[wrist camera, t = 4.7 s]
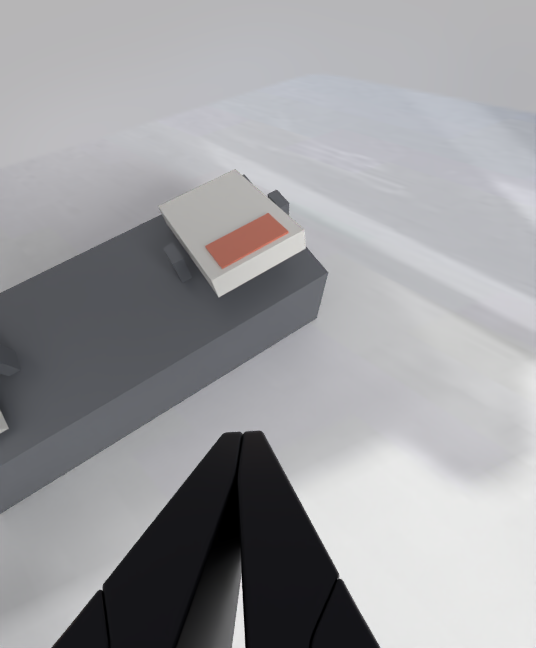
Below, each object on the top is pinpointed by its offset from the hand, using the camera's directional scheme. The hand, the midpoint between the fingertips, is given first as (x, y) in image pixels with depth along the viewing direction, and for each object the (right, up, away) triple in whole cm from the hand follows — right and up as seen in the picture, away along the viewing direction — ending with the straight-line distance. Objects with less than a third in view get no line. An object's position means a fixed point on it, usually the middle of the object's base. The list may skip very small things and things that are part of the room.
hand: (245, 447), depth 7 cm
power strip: (-8, +1, +15) cm, 17 cm away
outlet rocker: (-2, +8, +10) cm, 13 cm away
